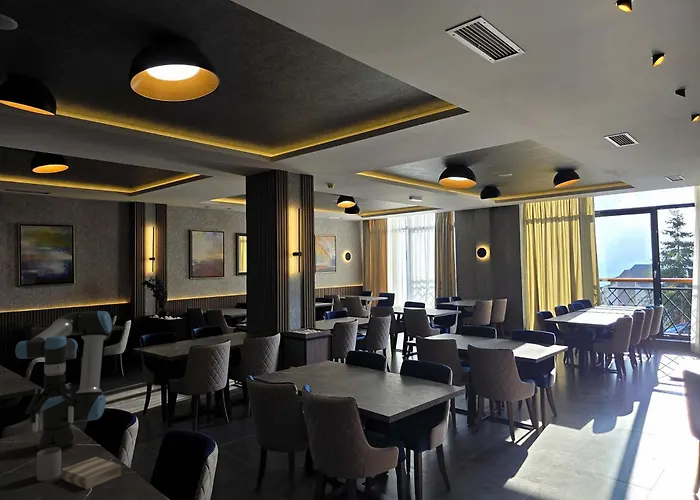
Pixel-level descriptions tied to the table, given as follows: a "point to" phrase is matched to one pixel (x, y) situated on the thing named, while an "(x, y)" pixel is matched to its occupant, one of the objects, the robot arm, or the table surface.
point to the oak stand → (91, 472)
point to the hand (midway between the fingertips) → (53, 426)
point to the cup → (48, 463)
